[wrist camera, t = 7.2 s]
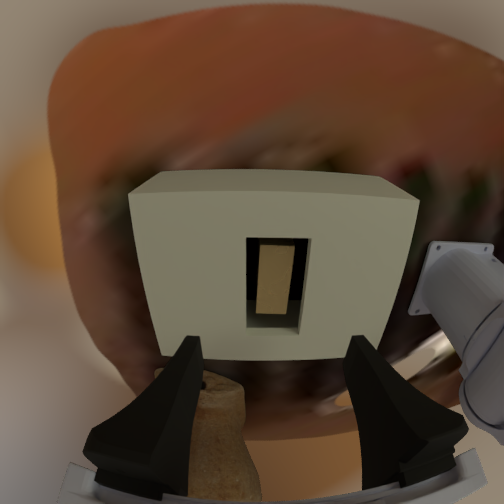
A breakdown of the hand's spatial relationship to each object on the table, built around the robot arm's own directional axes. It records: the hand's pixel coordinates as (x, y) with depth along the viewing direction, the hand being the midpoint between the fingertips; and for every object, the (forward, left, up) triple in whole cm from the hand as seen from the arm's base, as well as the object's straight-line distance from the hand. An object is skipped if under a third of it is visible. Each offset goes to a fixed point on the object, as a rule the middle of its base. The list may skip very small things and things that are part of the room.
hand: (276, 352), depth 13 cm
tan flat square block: (0, 0, -10) cm, 11 cm away
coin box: (0, 0, -10) cm, 10 cm away
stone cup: (+6, +21, -11) cm, 24 cm away
